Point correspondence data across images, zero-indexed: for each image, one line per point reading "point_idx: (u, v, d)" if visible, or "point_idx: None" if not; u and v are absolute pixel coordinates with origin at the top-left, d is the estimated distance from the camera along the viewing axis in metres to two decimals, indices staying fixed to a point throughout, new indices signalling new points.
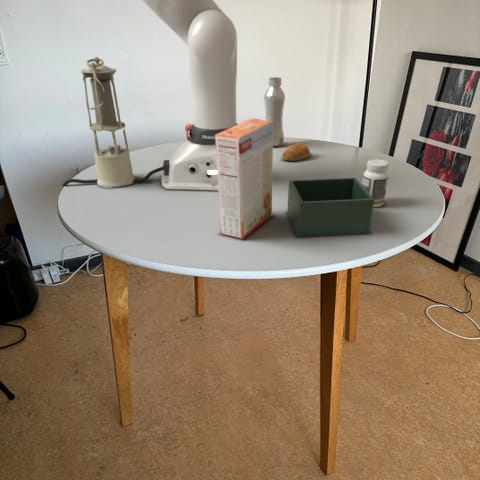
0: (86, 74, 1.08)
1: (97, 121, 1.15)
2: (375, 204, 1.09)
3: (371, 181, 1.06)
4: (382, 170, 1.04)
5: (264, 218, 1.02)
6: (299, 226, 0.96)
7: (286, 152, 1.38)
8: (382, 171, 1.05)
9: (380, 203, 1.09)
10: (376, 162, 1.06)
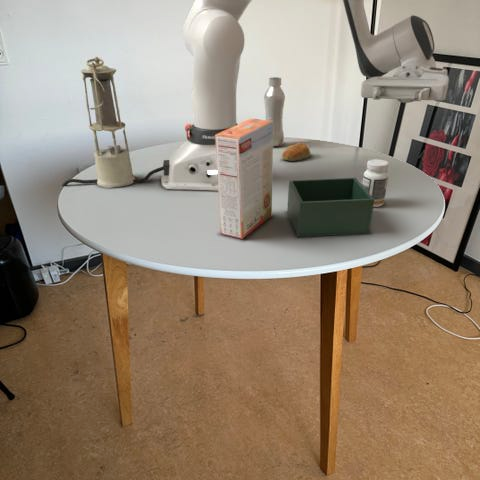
0: (86, 74, 1.08)
1: (97, 121, 1.15)
2: (375, 204, 1.09)
3: (371, 181, 1.06)
4: (382, 170, 1.04)
5: (264, 218, 1.02)
6: (299, 226, 0.96)
7: (286, 152, 1.38)
8: (382, 171, 1.05)
9: (380, 203, 1.09)
10: (376, 162, 1.06)
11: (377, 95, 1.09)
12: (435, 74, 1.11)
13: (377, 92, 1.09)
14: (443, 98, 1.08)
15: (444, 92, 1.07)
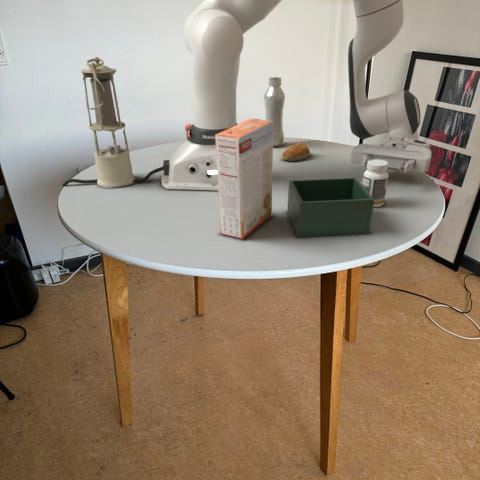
0: (86, 74, 1.08)
1: (97, 121, 1.15)
2: (375, 204, 1.09)
3: (371, 181, 1.06)
4: (382, 170, 1.04)
5: (264, 218, 1.02)
6: (299, 226, 0.96)
7: (286, 152, 1.38)
8: (382, 171, 1.05)
9: (380, 203, 1.09)
10: (376, 162, 1.06)
11: (366, 163, 1.17)
12: (419, 147, 1.19)
13: (366, 160, 1.16)
14: (426, 170, 1.16)
15: (427, 165, 1.15)
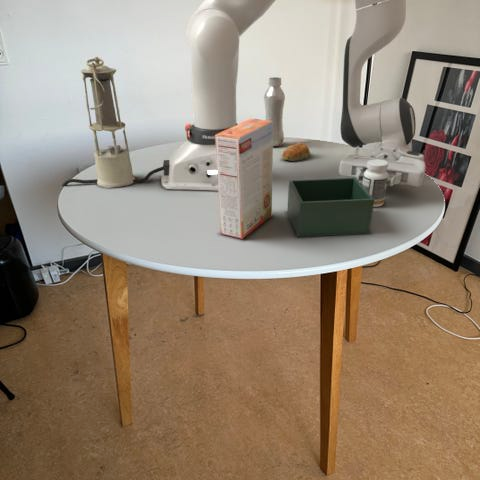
0: (86, 74, 1.08)
1: (97, 121, 1.15)
2: (375, 204, 1.09)
3: (371, 181, 1.06)
4: (382, 170, 1.04)
5: (264, 218, 1.02)
6: (299, 226, 0.96)
7: (286, 152, 1.38)
8: (382, 171, 1.05)
9: (380, 203, 1.09)
10: (376, 162, 1.06)
11: (360, 177, 1.08)
12: (412, 159, 1.11)
13: (360, 174, 1.08)
14: (420, 184, 1.08)
15: (421, 179, 1.07)
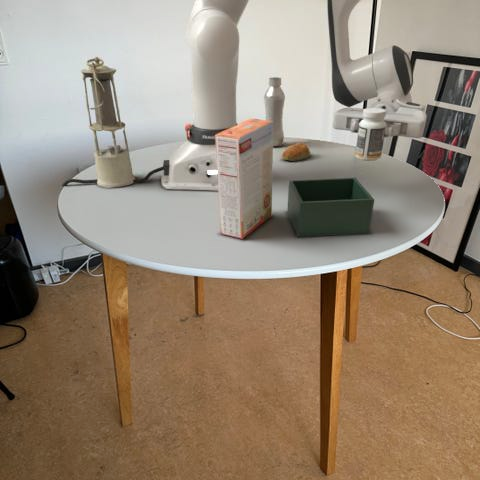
0: (86, 74, 1.08)
1: (97, 121, 1.15)
2: (372, 157, 1.00)
3: (367, 131, 0.97)
4: (379, 118, 0.95)
5: (264, 218, 1.02)
6: (299, 226, 0.96)
7: (286, 152, 1.38)
8: (379, 119, 0.96)
9: (377, 157, 1.00)
10: (372, 110, 0.97)
11: (356, 128, 0.99)
12: (412, 109, 1.02)
13: (356, 125, 0.99)
14: (420, 135, 0.99)
15: (422, 129, 0.98)
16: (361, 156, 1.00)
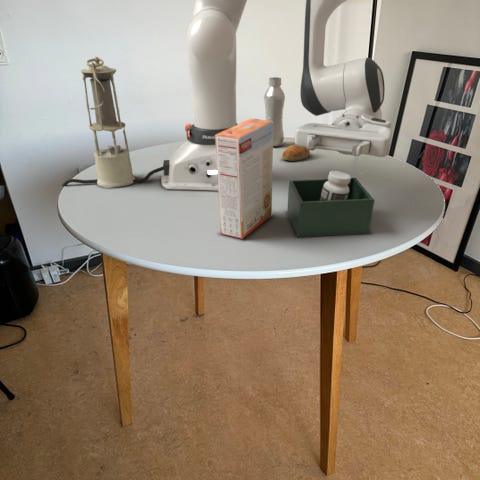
0: (86, 74, 1.08)
1: (97, 121, 1.15)
2: None
3: (329, 194, 0.96)
4: (342, 184, 0.95)
5: (264, 218, 1.02)
6: (299, 226, 0.96)
7: (286, 152, 1.38)
8: (342, 185, 0.96)
9: None
10: (338, 174, 0.96)
11: (311, 145, 0.94)
12: (377, 126, 0.97)
13: (311, 142, 0.94)
14: (385, 154, 0.94)
15: (386, 148, 0.93)
16: None
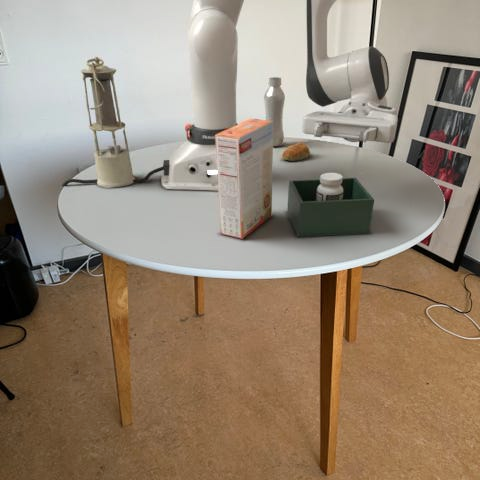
0: (86, 74, 1.08)
1: (97, 121, 1.15)
2: None
3: (323, 197, 0.97)
4: (334, 185, 0.95)
5: (264, 218, 1.02)
6: (299, 226, 0.96)
7: (286, 152, 1.38)
8: (335, 186, 0.96)
9: None
10: (329, 176, 0.97)
11: (318, 132, 0.96)
12: (383, 113, 0.99)
13: (318, 129, 0.96)
14: (391, 140, 0.95)
15: (392, 134, 0.95)
16: None
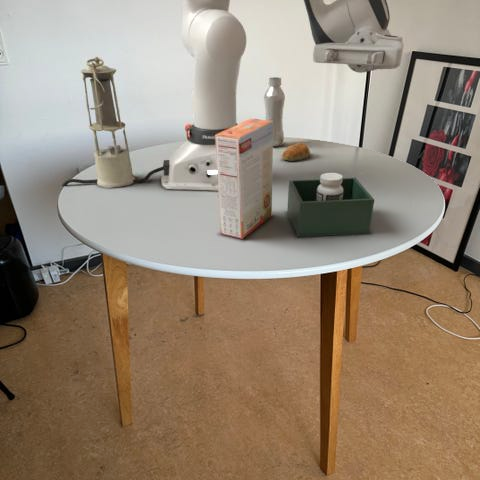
0: (86, 74, 1.08)
1: (97, 121, 1.15)
2: None
3: (323, 197, 0.97)
4: (334, 185, 0.95)
5: (264, 218, 1.02)
6: (299, 226, 0.96)
7: (286, 152, 1.38)
8: (335, 186, 0.96)
9: None
10: (329, 176, 0.97)
11: (329, 56, 1.02)
12: (390, 40, 1.05)
13: (329, 53, 1.02)
14: (397, 64, 1.02)
15: (398, 57, 1.01)
16: None
